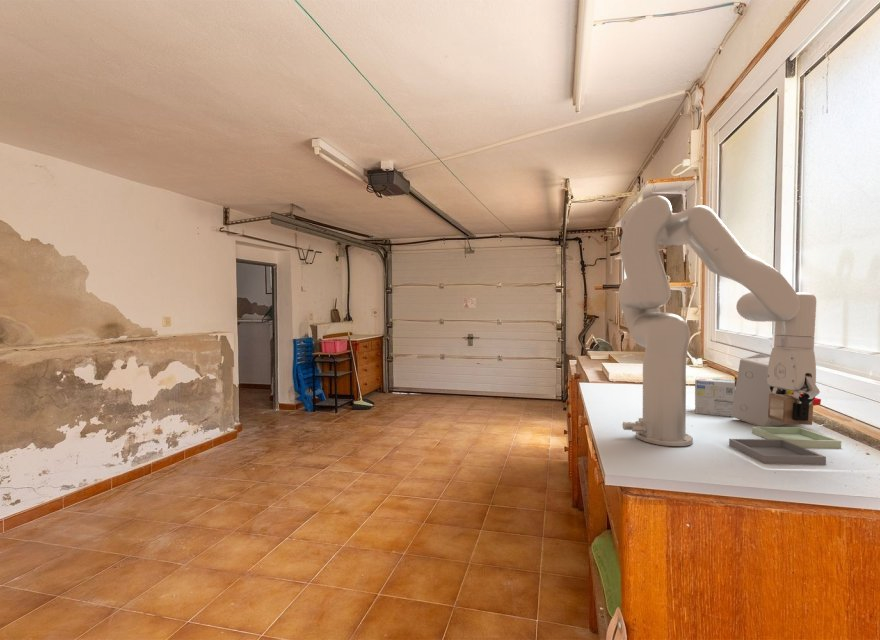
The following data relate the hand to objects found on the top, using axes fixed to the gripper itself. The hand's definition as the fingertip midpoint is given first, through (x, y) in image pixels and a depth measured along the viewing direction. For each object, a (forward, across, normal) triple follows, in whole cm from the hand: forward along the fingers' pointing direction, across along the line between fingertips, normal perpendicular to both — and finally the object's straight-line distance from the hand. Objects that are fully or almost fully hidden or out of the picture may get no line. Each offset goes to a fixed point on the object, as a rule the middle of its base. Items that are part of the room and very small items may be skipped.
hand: (789, 416), depth 105 cm
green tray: (+6, 0, +1) cm, 6 cm away
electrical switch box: (+6, -16, +8) cm, 19 cm away
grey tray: (+7, +12, -11) cm, 17 cm away
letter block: (+1, 0, 0) cm, 1 cm away
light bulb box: (+7, -30, -1) cm, 31 cm away
